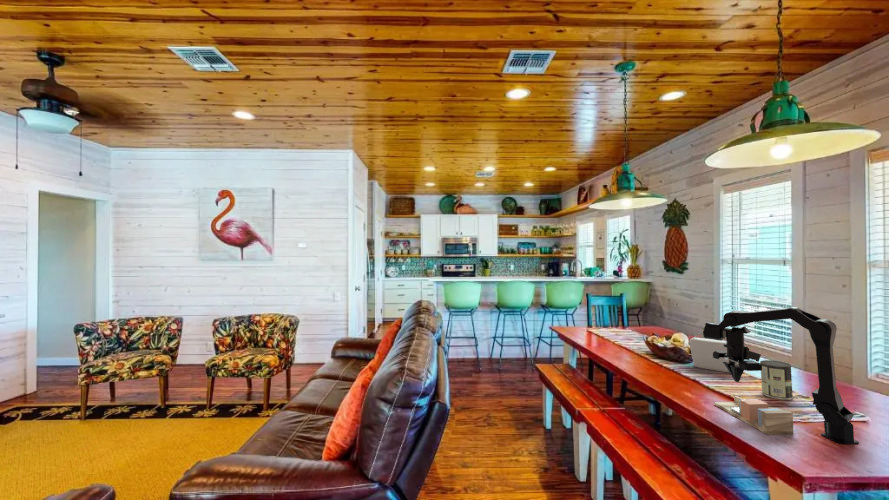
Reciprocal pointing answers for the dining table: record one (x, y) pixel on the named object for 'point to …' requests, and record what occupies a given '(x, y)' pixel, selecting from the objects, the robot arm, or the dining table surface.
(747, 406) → the terracotta book
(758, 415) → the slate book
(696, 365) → the radio
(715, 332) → the robot arm
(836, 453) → the dining table surface
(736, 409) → the bookend
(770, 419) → the beige piece
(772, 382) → the coffee can
